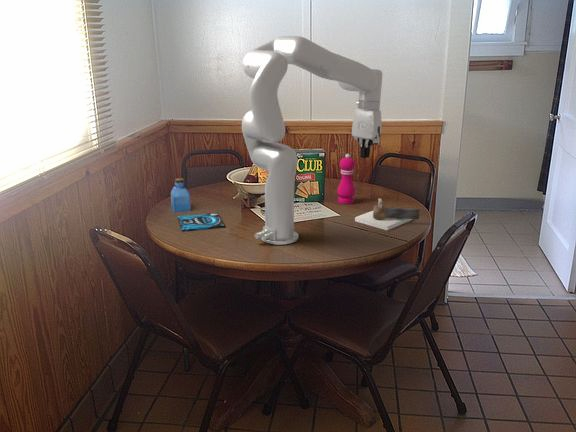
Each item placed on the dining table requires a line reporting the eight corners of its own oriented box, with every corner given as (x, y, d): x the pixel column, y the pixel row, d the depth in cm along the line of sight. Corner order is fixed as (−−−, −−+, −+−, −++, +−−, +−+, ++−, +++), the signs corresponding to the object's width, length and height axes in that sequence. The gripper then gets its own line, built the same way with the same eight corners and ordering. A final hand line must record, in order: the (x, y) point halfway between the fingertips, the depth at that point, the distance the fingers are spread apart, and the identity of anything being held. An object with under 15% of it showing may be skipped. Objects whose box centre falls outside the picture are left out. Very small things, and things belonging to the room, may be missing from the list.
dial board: (388, 230, 187) (388, 226, 186) (354, 221, 196) (355, 216, 196) (413, 220, 198) (413, 215, 197) (380, 211, 207) (380, 207, 207)
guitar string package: (225, 225, 189) (182, 229, 184) (225, 229, 189) (182, 233, 185) (218, 212, 202) (177, 216, 198) (218, 216, 203) (177, 219, 198)
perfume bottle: (190, 210, 206) (189, 180, 203) (174, 212, 204) (172, 182, 200) (187, 206, 212) (185, 176, 208) (171, 207, 210) (169, 178, 206)
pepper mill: (354, 199, 222) (356, 152, 215) (354, 205, 215) (357, 156, 208) (336, 199, 222) (338, 151, 216) (336, 204, 215) (338, 155, 209)
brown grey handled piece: (373, 218, 193) (374, 201, 191) (372, 215, 197) (373, 198, 195) (419, 220, 191) (420, 203, 189) (417, 216, 195) (419, 199, 193)
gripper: (345, 104, 190) (342, 155, 196) (379, 108, 180) (375, 162, 186) (358, 103, 195) (355, 153, 201) (392, 107, 185) (388, 159, 191)
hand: (364, 157), depth 193 cm, fingers closed
